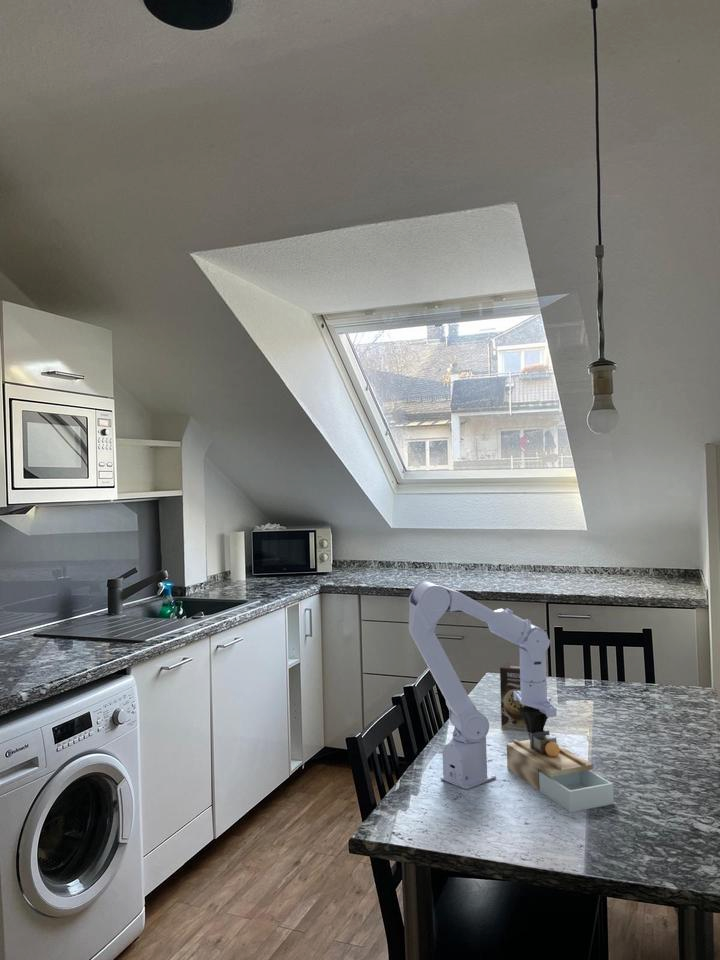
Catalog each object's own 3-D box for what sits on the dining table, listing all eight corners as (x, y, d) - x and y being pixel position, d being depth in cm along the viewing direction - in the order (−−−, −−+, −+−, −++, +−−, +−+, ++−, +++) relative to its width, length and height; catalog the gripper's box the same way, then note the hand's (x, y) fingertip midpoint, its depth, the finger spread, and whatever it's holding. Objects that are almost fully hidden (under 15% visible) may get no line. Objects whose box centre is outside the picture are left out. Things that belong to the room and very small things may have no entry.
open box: (539, 790, 155) (538, 771, 155) (580, 783, 158) (580, 764, 158) (570, 812, 144) (569, 791, 144) (613, 803, 147) (613, 783, 147)
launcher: (507, 768, 167) (506, 740, 168) (546, 761, 171) (545, 734, 171) (552, 799, 150) (550, 768, 150) (594, 791, 154) (592, 761, 154)
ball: (547, 759, 159) (554, 759, 157) (540, 746, 160) (547, 745, 157) (557, 752, 160) (564, 752, 158) (550, 739, 161) (557, 738, 158)
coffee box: (500, 729, 194) (498, 667, 194) (507, 721, 200) (505, 661, 200) (535, 733, 190) (533, 670, 190) (541, 726, 195) (539, 664, 196)
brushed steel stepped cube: (530, 748, 163) (529, 732, 163) (547, 745, 165) (547, 729, 165) (539, 754, 160) (539, 737, 160) (557, 751, 161) (556, 734, 161)
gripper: (567, 685, 160) (570, 748, 160) (531, 670, 173) (533, 728, 173) (539, 689, 157) (541, 753, 157) (504, 673, 171) (506, 732, 171)
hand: (535, 740), depth 165 cm, fingers closed
